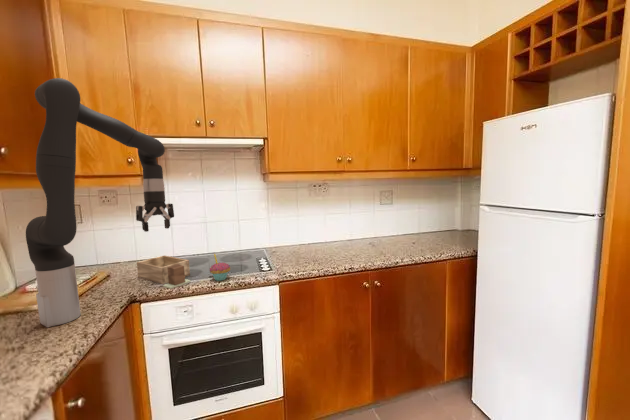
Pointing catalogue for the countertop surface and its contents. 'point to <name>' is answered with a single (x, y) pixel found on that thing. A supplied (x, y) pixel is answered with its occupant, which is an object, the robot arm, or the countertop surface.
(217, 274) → the cupcake
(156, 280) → the crate
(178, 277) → the walnut block
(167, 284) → the mat
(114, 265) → the countertop surface
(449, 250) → the countertop surface
